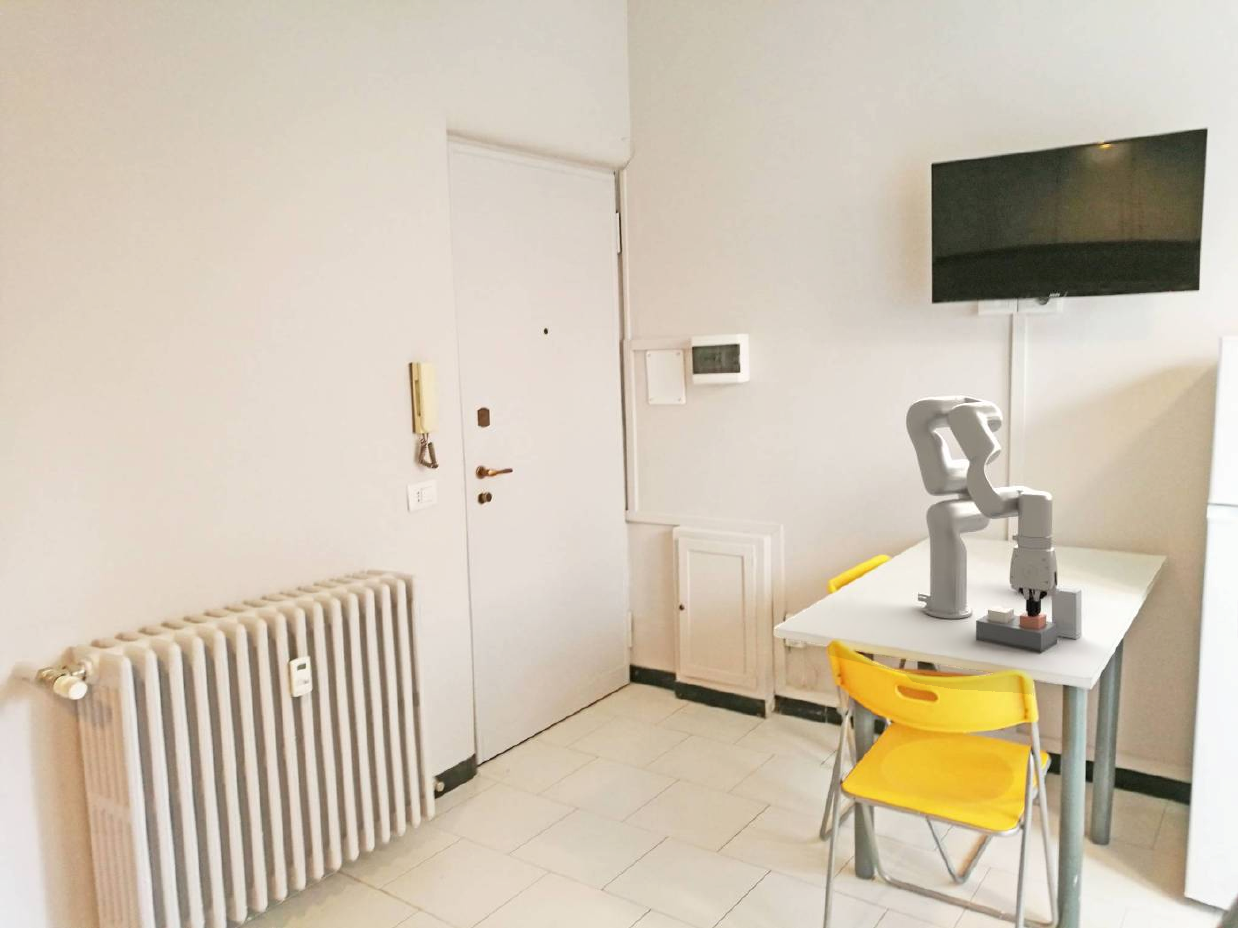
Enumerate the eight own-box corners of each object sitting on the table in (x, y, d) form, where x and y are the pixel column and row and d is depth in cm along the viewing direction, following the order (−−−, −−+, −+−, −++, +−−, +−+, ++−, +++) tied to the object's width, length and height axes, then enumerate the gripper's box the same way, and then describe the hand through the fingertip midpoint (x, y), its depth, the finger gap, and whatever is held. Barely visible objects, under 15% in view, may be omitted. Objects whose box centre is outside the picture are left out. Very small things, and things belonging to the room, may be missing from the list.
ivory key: (987, 626, 232) (987, 609, 231) (995, 622, 235) (995, 605, 234) (1005, 630, 228) (1005, 612, 228) (1013, 625, 231) (1013, 608, 231)
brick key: (1019, 633, 226) (1019, 615, 225) (1027, 628, 229) (1027, 611, 228) (1038, 636, 223) (1038, 618, 222) (1046, 632, 226) (1046, 614, 225)
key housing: (976, 639, 231) (976, 620, 231) (993, 630, 238) (993, 611, 238) (1040, 653, 220) (1041, 633, 219) (1057, 642, 227) (1057, 623, 226)
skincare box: (1082, 635, 231) (1083, 588, 230) (1076, 640, 228) (1077, 592, 227) (1056, 631, 236) (1057, 585, 234) (1050, 635, 232) (1051, 589, 231)
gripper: (997, 540, 226) (996, 613, 228) (1060, 548, 215) (1058, 624, 217) (1010, 535, 231) (1009, 606, 233) (1072, 543, 220) (1071, 617, 222)
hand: (1033, 614), depth 225 cm, fingers closed
